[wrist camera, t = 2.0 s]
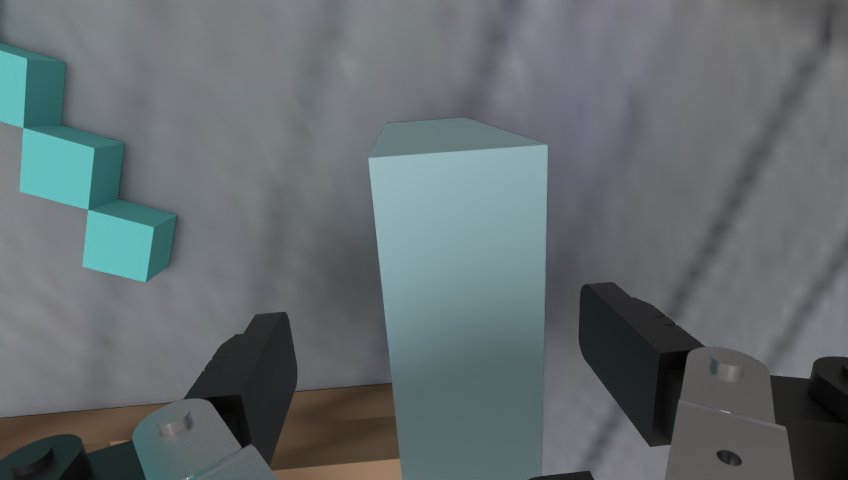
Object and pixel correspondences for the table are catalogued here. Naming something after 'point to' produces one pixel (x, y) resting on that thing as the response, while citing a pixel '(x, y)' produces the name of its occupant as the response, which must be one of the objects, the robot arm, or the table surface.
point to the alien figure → (79, 170)
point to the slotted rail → (297, 446)
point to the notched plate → (463, 295)
